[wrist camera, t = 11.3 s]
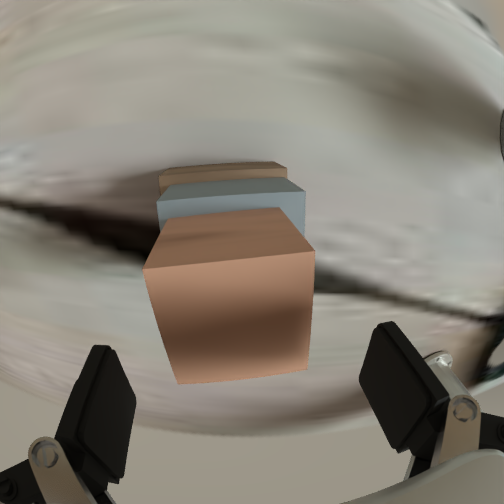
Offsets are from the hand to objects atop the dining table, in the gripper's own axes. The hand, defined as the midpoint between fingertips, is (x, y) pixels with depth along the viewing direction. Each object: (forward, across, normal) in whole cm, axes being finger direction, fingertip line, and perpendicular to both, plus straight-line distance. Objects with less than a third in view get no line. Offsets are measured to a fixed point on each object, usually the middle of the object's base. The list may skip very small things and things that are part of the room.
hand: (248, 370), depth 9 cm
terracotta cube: (+8, 0, 0) cm, 8 cm away
